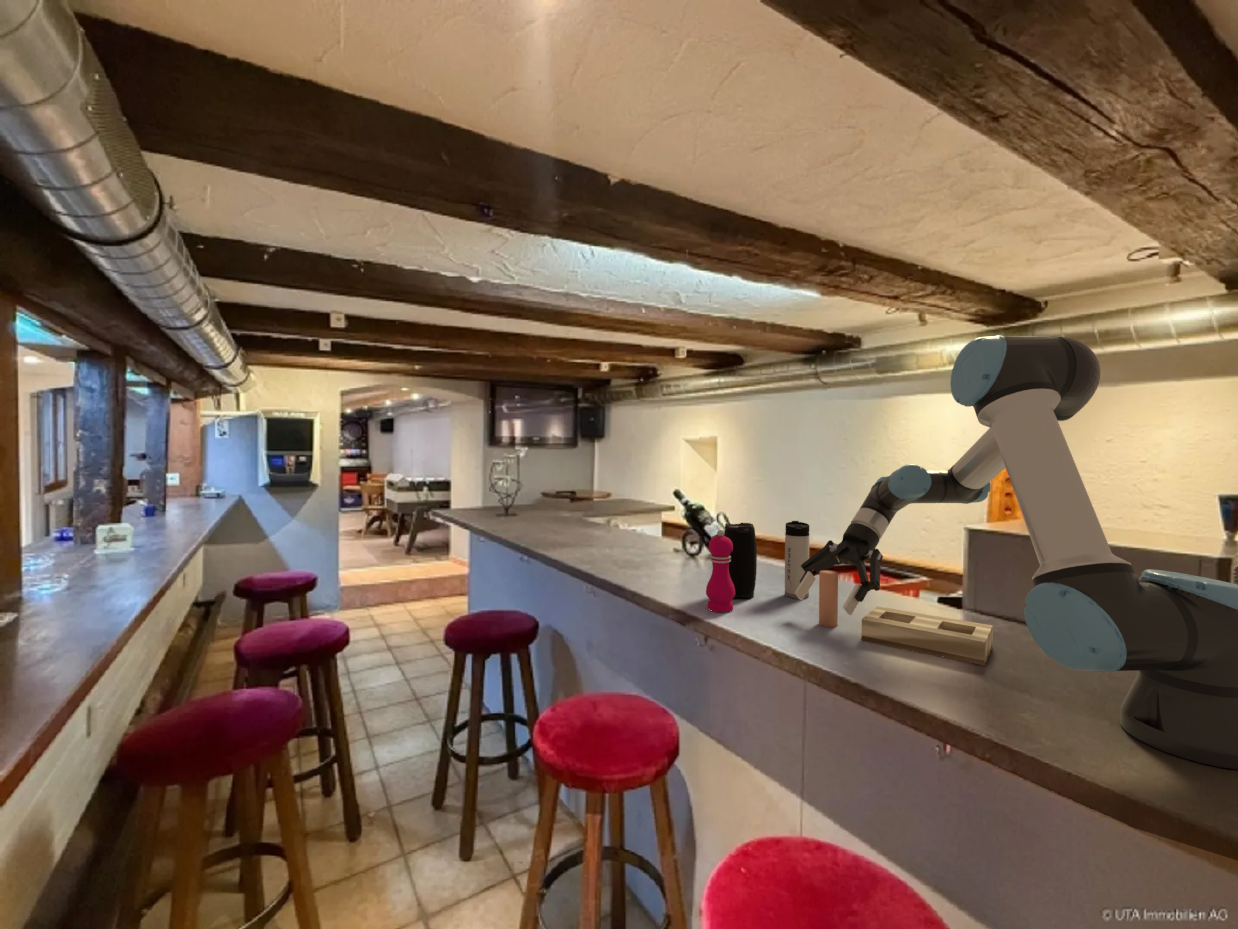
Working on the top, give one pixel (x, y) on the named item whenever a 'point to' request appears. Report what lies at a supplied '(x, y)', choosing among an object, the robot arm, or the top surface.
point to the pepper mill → (720, 575)
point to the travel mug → (795, 555)
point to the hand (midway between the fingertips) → (821, 603)
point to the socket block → (928, 634)
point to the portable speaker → (742, 558)
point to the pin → (828, 598)
